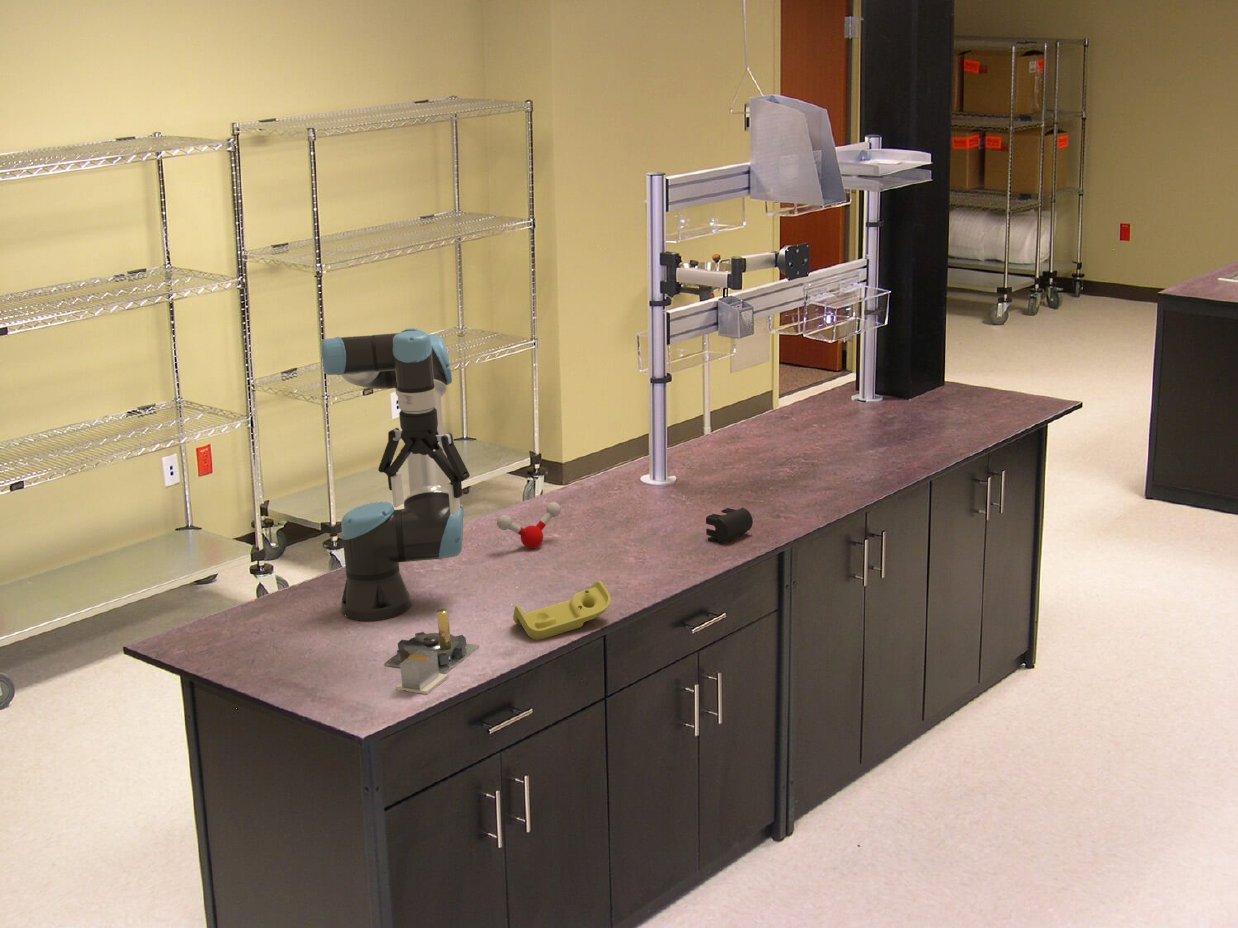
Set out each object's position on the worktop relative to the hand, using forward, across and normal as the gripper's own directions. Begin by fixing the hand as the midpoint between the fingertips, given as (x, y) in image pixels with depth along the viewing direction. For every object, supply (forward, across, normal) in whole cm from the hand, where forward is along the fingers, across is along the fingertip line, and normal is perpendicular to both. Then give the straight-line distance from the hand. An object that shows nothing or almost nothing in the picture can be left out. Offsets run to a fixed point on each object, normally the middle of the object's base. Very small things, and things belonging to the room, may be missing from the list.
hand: (426, 508), depth 302 cm
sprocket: (+28, +5, -10) cm, 30 cm away
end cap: (+30, +37, +76) cm, 89 cm away
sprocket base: (+28, +5, -10) cm, 30 cm away
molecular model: (+30, -7, +55) cm, 63 cm away
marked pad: (+28, +10, -22) cm, 37 cm away
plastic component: (+29, +23, +14) cm, 39 cm away
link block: (+27, +10, -22) cm, 36 cm away
